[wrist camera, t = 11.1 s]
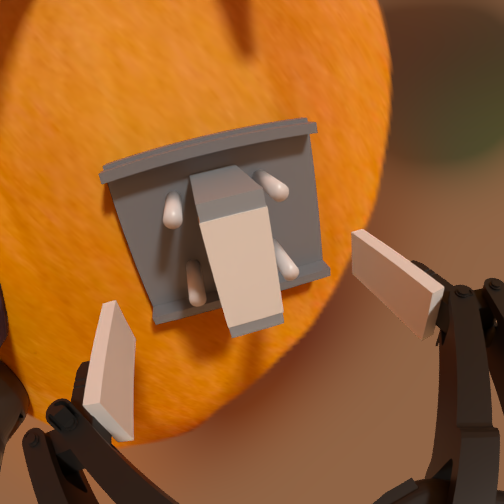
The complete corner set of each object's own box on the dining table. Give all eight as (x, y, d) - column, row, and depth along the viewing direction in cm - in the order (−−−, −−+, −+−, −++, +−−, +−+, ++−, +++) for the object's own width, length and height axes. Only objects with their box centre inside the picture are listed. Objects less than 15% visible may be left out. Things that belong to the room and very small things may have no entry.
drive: (215, 277, 26) (231, 339, 19) (188, 175, 22) (194, 205, 15) (255, 266, 26) (285, 323, 19) (235, 164, 22) (264, 188, 15)
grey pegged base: (157, 310, 27) (156, 354, 22) (105, 164, 21) (83, 180, 15) (318, 265, 29) (348, 298, 24) (302, 117, 23) (337, 120, 18)
